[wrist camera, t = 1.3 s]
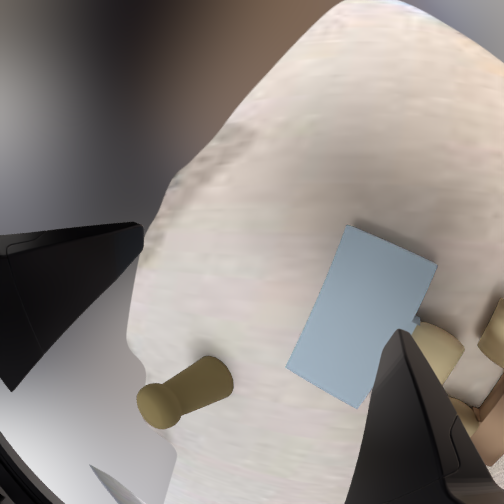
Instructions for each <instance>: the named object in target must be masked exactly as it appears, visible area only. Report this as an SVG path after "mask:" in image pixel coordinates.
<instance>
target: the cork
mask: <svg viewBox="0 0 504 504" xmlns="http://www.w3.org/2000/svg"><path fill="white" fill-rule="evenodd" d="M232 390H233V379H232V376H231V373H230V372H229V370H228V368H227V367H226V366H225V365H224V364H223V363H222V362H221V361H220V360H218V359H217V358H215V357H211V356H205V357H203V358H201V359H200V360H198V361H197V362H195V363H194V364H192V365H191V366H189V367H188V368H186V369H185V370H183V371H182V372H180V373H179V374H177V375H176V376H174V377H172V378H171V379H169V380H168V381H166V382H165V383H163V384H159V383H153V384H148V385H146V386H144V387H143V388H142V389H141V390H140V391H139V392H138V394H137V405H138V408H139V411H140V413H141V415H142V416H143V418H144V419H145V420H146V421H147V422H148V423H149V424H150V425H151V426H153V427H155V428H158V429H167V428H170V427H172V426H174V425H175V424H176V423H177V422H178V421H179V420H180V418H181V416H182V415H184V414H187V413H190V412H192V411H195V410H197V409H200V408H202V407H205V406H207V405H210V404H212V403H214V402H217V401H219V400H221V399H224V398H226V397H228V396H229V395H230V394H231V393H232Z"/></svg>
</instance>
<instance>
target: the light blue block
mask: <svg viewBox="0 0 504 504" xmlns="http://www.w3.org/2000/svg"><path fill="white" fill-rule="evenodd" d="M437 266H438V265H437V264H436V263H434V262H432V261H430V260H428V259H426V258H424V257H421V256H419V255H417V254H415V253H413V252H411V251H409V250H406V249H404V248H402V247H400V246H398V245H395V244H393V243H391V242H389V241H386V240H384V239H382V238H379V237H377V236H375V235H372V234H370V233H368V232H365V231H363V230H361V229H358V228H356V227H353V226H350V225H346V228H345V231H344V233H343V236H342V239H341V241H340V244H339V246H338V249H337V252H336V254H335V257H334V259H333V262H332V264H331V267H330V269H329V272H328V274H327V276H326V279H325V281H324V284H323V286H322V288H321V291H320V293H319V295H318V298H317V300H316V302H315V305H314V307H313V309H312V311H311V314H310V316H309V318H308V320H307V323H306V325H305V327H304V329H303V331H302V333H301V335H300V338H299V340H298V342H297V344H296V346H295V348H294V350H293V352H292V354H291V356H290V358H289V360H288V362H287V364H286V366H285V368H287V369H289V370H290V371H292V372H293V373H295V374H297V375H298V376H300V377H302V378H303V379H305V380H307V381H308V382H310V383H312V384H313V385H315V386H317V387H318V388H320V389H322V390H324V391H325V392H327V393H329V394H331V395H332V396H334V397H336V398H338V399H339V400H341V401H343V402H345V403H347V404H348V405H350V406H352V407H354V408H356V409H358V407H359V406H360V405H361V403H362V402H363V400H364V399H365V398H366V396H367V395H368V393H369V392H370V391H371V389H372V388H373V385H374V382H375V378H376V374H377V370H378V366H379V362H380V357H381V353H382V350H383V348H384V346H385V345H386V343H387V342H388V340H389V339H390V338H391V336H392V335H393V333H394V332H395V331H396V330H397V329H402V330H405V331H408V332H409V333H410V334H411V336H412V337H413V339H414V340H415V342H416V343H417V345H418V346H419V348H420V350H421V351H422V353H423V354H424V356H425V358H426V359H427V361H428V362H429V364H430V366H431V367H432V369H433V371H434V372H435V374H436V376H437V378H438V379H439V381H440V383H441V384H442V385H443V383H444V382H445V380H446V379H447V378H448V376H449V375H450V373H451V371H452V370H453V368H454V367H455V365H456V364H457V362H458V360H459V359H460V357H461V356H462V354H463V352H464V350H465V349H464V346H463V345H462V344H461V343H460V342H459V341H458V340H457V339H456V338H455V337H454V336H452V335H451V334H449V333H448V332H446V331H445V330H443V329H441V328H439V327H437V326H435V325H432V324H430V323H426V322H420V318H419V317H417V316H415V315H416V313H417V311H418V309H419V307H420V304H421V302H422V300H423V298H424V296H425V294H426V292H427V289H428V287H429V285H430V283H431V280H432V278H433V276H434V273H435V271H436V269H437Z"/></svg>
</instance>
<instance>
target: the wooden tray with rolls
mask: <svg viewBox="0 0 504 504" xmlns="http://www.w3.org/2000/svg"><path fill="white" fill-rule="evenodd" d="M478 347H479V349H480V350H481V351H482V352H483V353H484V354H485V355H486V356H487V357H488V358H489V359H490V360H492V361H493V362H494V363H496V364H497V365H499V366H500V367H502V368H503V369H504V299H503V298H500V300H499V302H498V305H497V307H496V309H495V311H494V313H493V315H492V317H491V320H490V322H489V324H488V326H487V328H486V329H485V331H484V333H483V335H482V337H481V339H480V341H479V343H478ZM449 399H450V400H451V402H452V404H453V406H454V408H455V410H456V412H457V415H459V417H460V419H461V421H462V423H463V425H464V427H465V429H466V431H467V433H468V434H469V436H470V438H471V440H472V442H473V443H474V445H475V447H476V449H477V451H478V452H479V454H480V456H481V458H482V460H483V461H484V463H485V465H487V466H490V467H491V466H492V465H493V464H494V463H495V462H496V461H497V460H498V459H499V458H500V457H501V456H502V455H503V454H504V373H503V375H502V376H501V378H500V379H499V381H498V382H497V384H496V385H495V387H494V388H493V390H492V391H491V393H490V394H489V395H488V397H487V398H486V400H485V401H484V402H483V404H482V405H481V406H480V408H479V409H478V408H475V407H472V409H471V408H470V407H469V406H468V405H466V404H465V403H463V402H462V401H460V400H458V399H455V398H452V397H449Z"/></svg>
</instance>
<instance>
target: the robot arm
mask: <svg viewBox="0 0 504 504" xmlns="http://www.w3.org/2000/svg"><path fill="white" fill-rule="evenodd" d="M143 247H144V228H143V226H142V225H141V224H139V223H136V222H123V223H111V224H101V225H91V226H82V227H72V228H64V229H55V230H48V231H38V232H31V233H20V234H10V235H0V378H1V379H2V380H3V382H4V384H5V385H6V386H7V387H8V389H9V390H10V391H11V392H12V391H14V390H15V389H16V387H17V386H18V385H19V384H20V382H21V381H22V380H23V379H24V378H25V376H26V375H27V374H28V373H29V372H30V370H31V369H32V368H33V367H34V366H35V365H36V363H37V362H38V361H39V360H40V359H41V358H42V357H43V355H44V354H45V353H46V352H47V351H48V350H49V349H50V347H51V346H52V345H53V344H54V343H55V342H56V341H57V340H58V339H59V338H60V336H61V335H62V334H63V333H64V332H65V331H66V330H67V329H68V328H69V327H70V326H71V325H72V324H73V323H74V322H75V321H76V320H77V318H79V316H80V315H81V314H82V313H83V312H84V311H85V310H86V309H87V308H88V307H89V306H90V305H91V304H92V303H93V302H94V301H95V300H96V299H97V298H98V297H99V296H100V295H101V294H102V293H103V292H104V291H105V290H106V289H108V288H109V287H110V286H111V285H112V284H113V283H114V282H115V281H116V280H117V279H118V278H119V276H120V275H121V274H122V273H123V272H124V271H125V270H126V268H127V267H128V266H129V265H130V264H131V263H132V262H133V261H134V259H135V258H136V257H137V256H138V255H139V254H140V253H141V251H142V250H143ZM0 504H65V503H64V502H63V501H61V500H60V499H59V498H58V497H57V496H56V495H55V494H54V493H53V492H52V491H51V490H50V489H49V488H48V487H47V486H46V485H45V484H44V483H43V482H42V481H41V480H40V479H39V478H38V477H37V476H36V475H35V474H34V473H33V471H32V470H31V469H30V468H29V467H28V466H27V465H26V464H25V463H24V461H23V460H22V459H21V458H20V456H19V455H18V454H17V453H16V452H15V450H14V449H13V448H12V446H11V445H10V444H9V443H8V441H7V440H6V439H5V437H4V436H3V434H2V433H1V432H0ZM345 504H504V490H503V489H502V488H500V487H499V486H498V485H497V484H496V483H495V481H494V480H493V478H492V476H491V474H490V472H489V471H488V469H487V467H486V465H485V463H484V461H483V460H482V458H481V456H480V454H479V452H478V451H477V449H476V447H475V445H474V443H473V442H472V440H471V438H470V436H469V434H468V433H467V431H466V429H465V427H464V425H463V423H462V421H461V419H460V417H459V415H457V412H456V410H455V408H454V406H453V404H452V402H451V400H450V399H449V397H448V395H447V393H446V391H445V390H444V388H443V386H442V384H441V383H440V381H439V379H438V378H437V376H436V374H435V372H434V371H433V369H432V367H431V366H430V364H429V362H428V361H427V359H426V358H425V356H424V354H423V353H422V351H421V350H420V348H419V346H418V345H417V343H416V342H415V340H414V339H413V337H412V336H411V334H410V333H409V332H408V331H405V330H402V329H397V330H396V331H395V332H394V333H393V335H392V336H391V338H390V339H389V340H388V342H387V343H386V345H385V346H384V348H383V350H382V353H381V357H380V362H379V366H378V370H377V374H376V378H375V382H374V385H373V389H372V393H371V398H370V404H369V410H368V415H367V420H366V425H365V430H364V435H363V439H362V444H361V448H360V452H359V456H358V460H357V464H356V468H355V471H354V475H353V478H352V482H351V485H350V488H349V492H348V495H347V498H346V501H345Z"/></svg>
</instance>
